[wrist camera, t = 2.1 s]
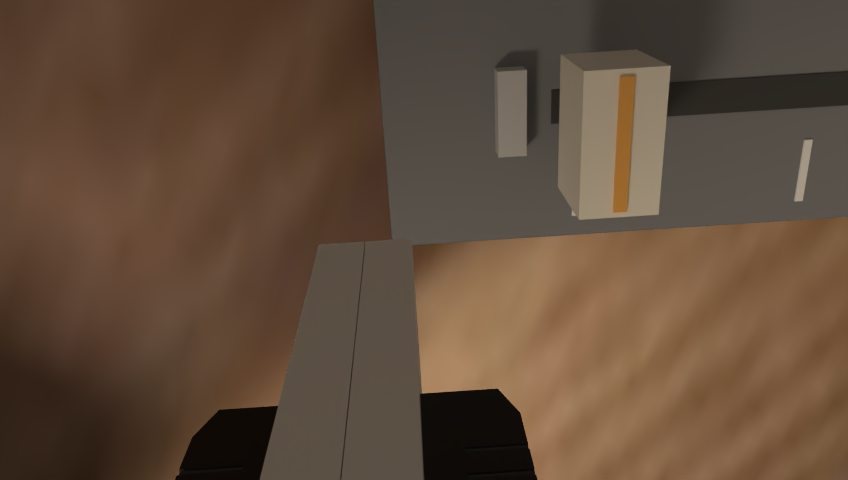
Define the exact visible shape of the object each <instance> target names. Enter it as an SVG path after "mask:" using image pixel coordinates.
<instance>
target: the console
mask: <svg viewBox="0 0 848 480" xmlns="http://www.w3.org/2000/svg"><path fill="white" fill-rule="evenodd" d="M373 4H374V17H375V29H376V42H377V55H378V67H379V80H380V93H381V105H382V118H383V131H384V143H385V156H386V168H387V181H388V194H389V206H390V219H391V232H392V240H397V239H412V245H422V244H437V243H453V242H468V241H483V240H499V239H514V238H529V237H545V236H560V235H575V234H591V233H606V232H621V231H637V230H652V229H668V228H683V227H698V226H714V225H729V224H744V223H760V222H775V221H790V220H806V219H821V218H836V217H848V0H373ZM621 50H639V51H641V52H643V53H645V54H647V55H649V56H651V57H653V58H656V59H658V60H660V61H662V62H664V63H666V64H668V65H670V66H671V70H670V82H669V94H668V106H667V118H666V131H665V143H664V155H663V167H662V179H661V192H660V204H659V215H646V216H631V217H615V218H600V219H585V220H579V219H578V218H577V216H576V215H575V213H574V212H573V210H572V208H571V207H570V205H569V204H568V202H567V201H566V199H565V197H564V196H563V194H562V193H561V191H560V190H559V188H558V155H559V108H560V61H561V54H573V53H589V52H605V51H621Z"/></svg>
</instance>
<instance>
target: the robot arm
mask: <svg viewBox="0 0 848 480" xmlns="http://www.w3.org/2000/svg"><path fill="white" fill-rule="evenodd" d="M179 471H180V473H179V475H178V476H176V479H175V480H537V477H536V475H535V471H534V465H533V461H532V457H531V453H530V449H528V441H527V438H526V434H525V430H524V426H523V422H522V418H521V414H520V412H519V411H518V410H517V409H516V408H515V407H514V406H513V405H512V404H511V403H510V401H509V400H508V399H507V398H506V397H505V396H504V395H503V394H502V393H501V392H500V391H499V390H498V389H486V390H471V391H455V392H440V393H425V394H422V388H421V371H420V356H419V341H418V327H417V312H416V297H415V282H414V267H413V252H412V239H397V240H382V241H366V243H365V242H350V243H335V244H319V246H318V250H317V254H316V258H315V262H314V266H313V270H312V274H311V278H310V282H309V286H308V289H307V293H306V297H305V301H304V305H303V309H302V313H301V317H300V321H299V325H298V329H297V333H296V337H295V341H294V345H293V349H292V353H291V357H290V361H289V365H288V369H287V373H286V377H285V381H284V385H283V389H282V393H281V397H280V401H279V405H278V406H270V407H255V408H240V409H225V410H219V411H218V412H217V413H216V414H215V415H214V416H213V417H212V418H211V419H210V420H209V421H208V422H207V423H206V424H205V425H204V426H203V427H202V428H201V429H200V430H199V431H198V432H197V433H196V434H195V435H194V436H193V437H192V439H191V442H190V444H189V447H188V449H187V452H186V454H185V456H184V459H183V461H182V464H181V466H180V469H179Z"/></svg>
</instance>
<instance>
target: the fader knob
mask: <svg viewBox="0 0 848 480" xmlns="http://www.w3.org/2000/svg"><path fill="white" fill-rule="evenodd" d="M670 70H671V66H670V65H668V64H666V63H664V62H662V61H660V60H658V59H656V58H653V57H651V56H649V55H647V54H645V53H643V52H641V51H639V50H621V51H605V52H589V53H573V54H561V61H560V108H559V155H558V188H559V190H560V191H561V193H562V194H563V196H564V197H565V199H566V201H567V202H568V204H569V205H570V207H571V208H572V210H573V212H574V213H575V215H576V216H577V218H578V219H579V220H585V219H600V218H615V217H631V216H646V215H659V204H660V192H661V179H662V167H663V155H664V143H665V131H666V118H667V106H668V94H669V82H670Z"/></svg>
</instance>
